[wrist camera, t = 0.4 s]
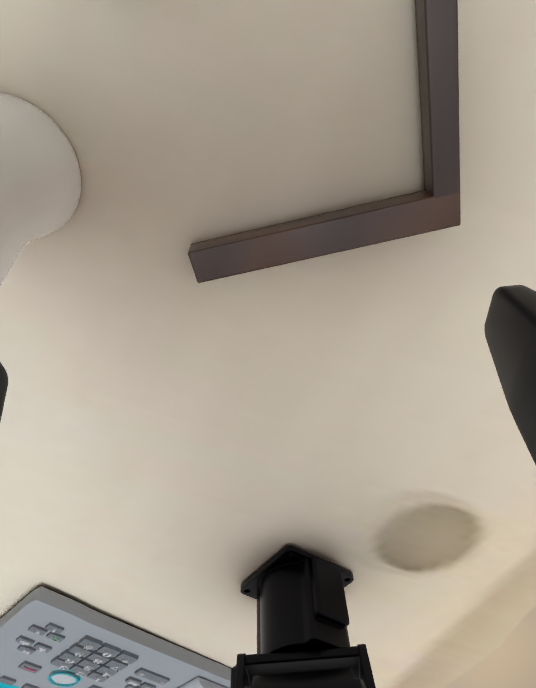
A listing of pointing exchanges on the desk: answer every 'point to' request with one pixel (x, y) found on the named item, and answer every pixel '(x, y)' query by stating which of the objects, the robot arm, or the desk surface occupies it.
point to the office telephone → (92, 651)
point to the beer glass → (32, 178)
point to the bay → (382, 216)
